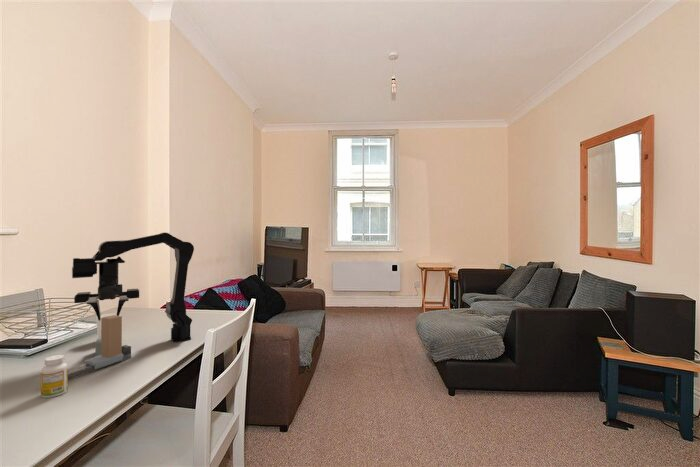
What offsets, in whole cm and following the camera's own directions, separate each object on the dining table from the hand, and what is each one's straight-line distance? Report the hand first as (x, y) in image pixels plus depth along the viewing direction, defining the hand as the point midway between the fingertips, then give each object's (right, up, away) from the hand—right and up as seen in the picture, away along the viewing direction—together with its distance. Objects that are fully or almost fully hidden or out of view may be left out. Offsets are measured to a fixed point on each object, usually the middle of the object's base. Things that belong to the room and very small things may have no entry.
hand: (108, 319), depth 122 cm
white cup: (-10, -12, +14) cm, 21 cm away
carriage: (+7, -11, -11) cm, 17 cm away
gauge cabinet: (0, -12, 0) cm, 12 cm away
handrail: (+5, -12, -15) cm, 20 cm away
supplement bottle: (+7, -12, -31) cm, 34 cm away
